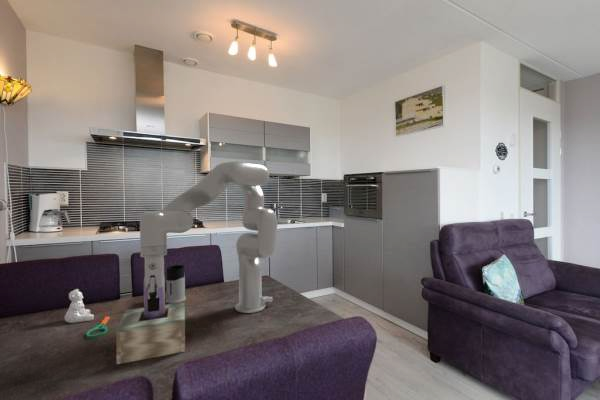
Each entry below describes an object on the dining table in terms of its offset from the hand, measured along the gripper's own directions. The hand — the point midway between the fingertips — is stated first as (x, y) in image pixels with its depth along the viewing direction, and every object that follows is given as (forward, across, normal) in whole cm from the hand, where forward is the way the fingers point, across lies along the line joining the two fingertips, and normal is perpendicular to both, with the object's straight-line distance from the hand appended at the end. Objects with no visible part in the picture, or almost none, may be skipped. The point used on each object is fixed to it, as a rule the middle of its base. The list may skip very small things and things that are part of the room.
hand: (154, 306), depth 92 cm
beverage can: (+6, 0, 0) cm, 6 cm away
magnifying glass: (+13, +21, +19) cm, 31 cm away
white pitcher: (+13, +40, -3) cm, 42 cm away
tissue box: (+12, 0, 0) cm, 12 cm away
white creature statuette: (+13, +32, +29) cm, 45 cm away
